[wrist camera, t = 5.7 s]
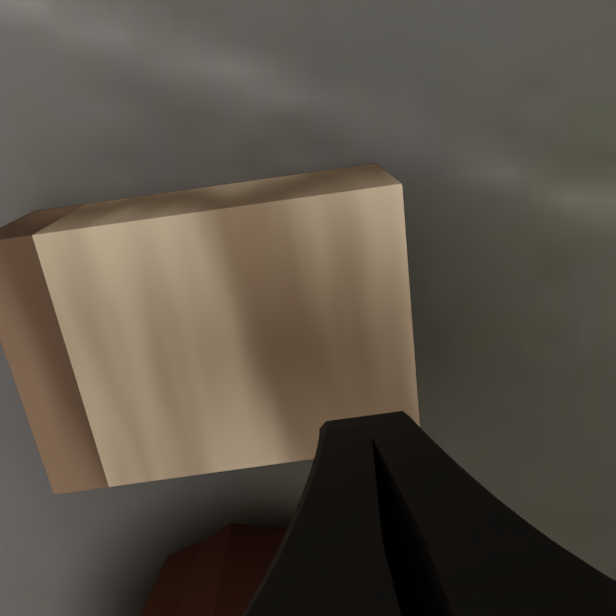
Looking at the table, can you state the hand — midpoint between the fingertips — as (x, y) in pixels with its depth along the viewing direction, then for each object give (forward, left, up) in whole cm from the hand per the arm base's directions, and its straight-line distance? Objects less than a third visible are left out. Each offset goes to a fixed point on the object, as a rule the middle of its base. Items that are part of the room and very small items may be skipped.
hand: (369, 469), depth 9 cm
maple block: (-2, 0, -8) cm, 8 cm away
